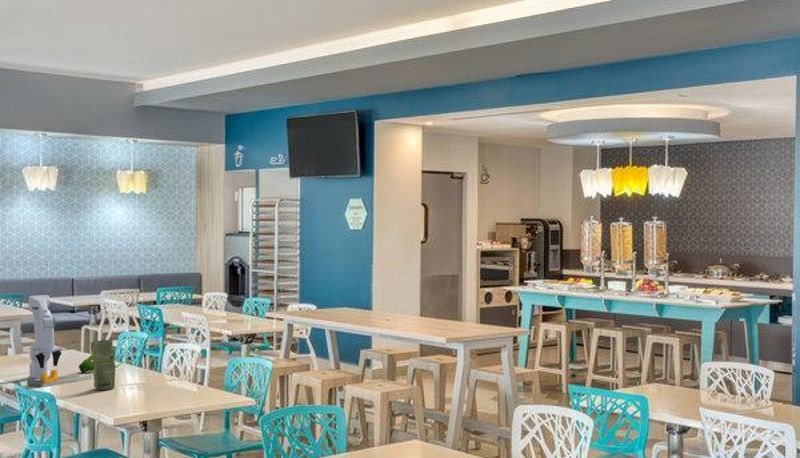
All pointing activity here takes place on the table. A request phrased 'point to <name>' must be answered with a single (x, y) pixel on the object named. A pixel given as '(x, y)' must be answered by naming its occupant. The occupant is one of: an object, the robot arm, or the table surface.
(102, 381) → the pouch
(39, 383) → the rail
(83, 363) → the decorative plant
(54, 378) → the pipe clamp
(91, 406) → the table surface
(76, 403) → the table surface
